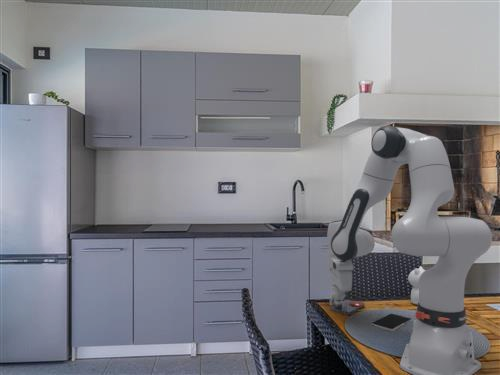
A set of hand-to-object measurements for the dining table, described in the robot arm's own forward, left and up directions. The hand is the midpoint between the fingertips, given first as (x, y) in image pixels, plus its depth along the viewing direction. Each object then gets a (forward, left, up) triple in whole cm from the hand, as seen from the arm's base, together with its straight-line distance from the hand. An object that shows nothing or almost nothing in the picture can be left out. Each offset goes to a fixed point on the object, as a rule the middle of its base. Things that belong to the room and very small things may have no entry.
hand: (339, 297), depth 142 cm
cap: (0, 0, -1) cm, 1 cm away
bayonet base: (+4, -2, -5) cm, 6 cm away
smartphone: (-1, -21, -6) cm, 21 cm away
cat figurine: (+27, -24, -5) cm, 36 cm away
